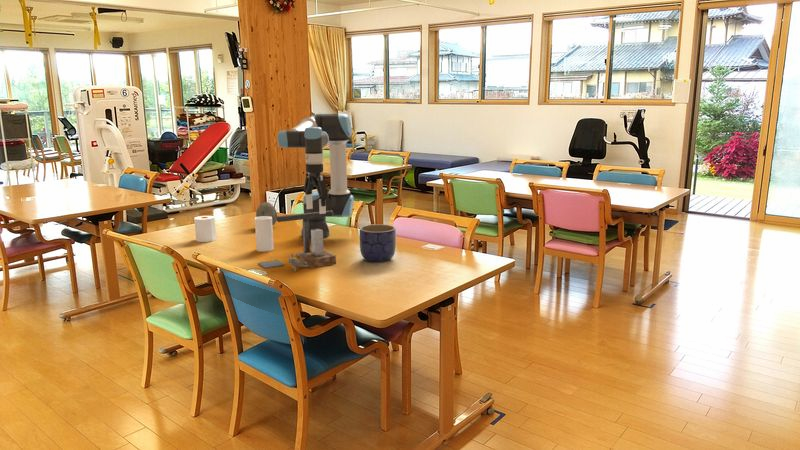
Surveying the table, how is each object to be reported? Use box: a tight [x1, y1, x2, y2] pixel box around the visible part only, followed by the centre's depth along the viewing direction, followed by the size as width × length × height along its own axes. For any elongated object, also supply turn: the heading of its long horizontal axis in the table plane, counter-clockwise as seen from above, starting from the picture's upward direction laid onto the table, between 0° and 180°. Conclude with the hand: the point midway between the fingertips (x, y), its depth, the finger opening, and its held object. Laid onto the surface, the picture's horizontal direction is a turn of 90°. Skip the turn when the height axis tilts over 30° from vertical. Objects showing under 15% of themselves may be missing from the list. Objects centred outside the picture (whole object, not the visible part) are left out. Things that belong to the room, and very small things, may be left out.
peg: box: [310, 229, 325, 257], centre depth 254 cm, size 4×4×15 cm
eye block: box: [299, 249, 337, 269], centre depth 255 cm, size 12×12×4 cm
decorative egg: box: [255, 201, 278, 226], centre depth 323 cm, size 12×12×15 cm
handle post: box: [295, 220, 312, 259], centre depth 263 cm, size 8×8×17 cm
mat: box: [257, 259, 286, 270], centre depth 252 cm, size 9×9×1 cm
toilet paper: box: [193, 215, 217, 243], centre depth 296 cm, size 10×10×12 cm
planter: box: [358, 223, 397, 263], centre depth 258 cm, size 16×16×15 cm
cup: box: [254, 216, 275, 253], centre depth 276 cm, size 8×8×16 cm
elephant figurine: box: [288, 252, 309, 273], centre depth 245 cm, size 10×6×9 cm
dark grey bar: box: [276, 210, 333, 223], centre depth 261 cm, size 3×28×4 cm, turn 121°
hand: (316, 211), depth 250 cm, fingers open, 13 cm apart
